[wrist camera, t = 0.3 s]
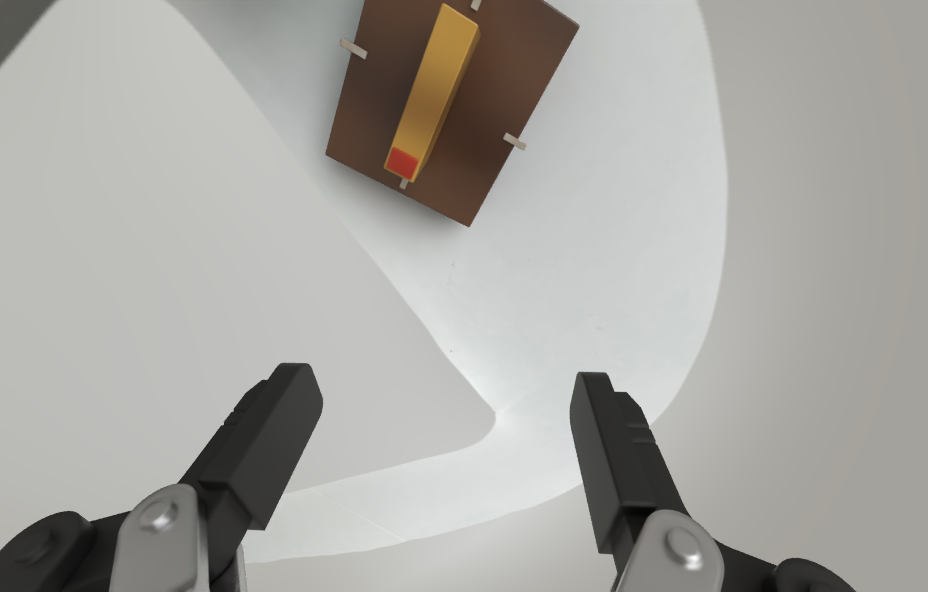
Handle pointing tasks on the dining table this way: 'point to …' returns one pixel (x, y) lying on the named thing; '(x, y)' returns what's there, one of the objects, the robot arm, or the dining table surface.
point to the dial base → (475, 104)
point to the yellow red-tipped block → (432, 92)
